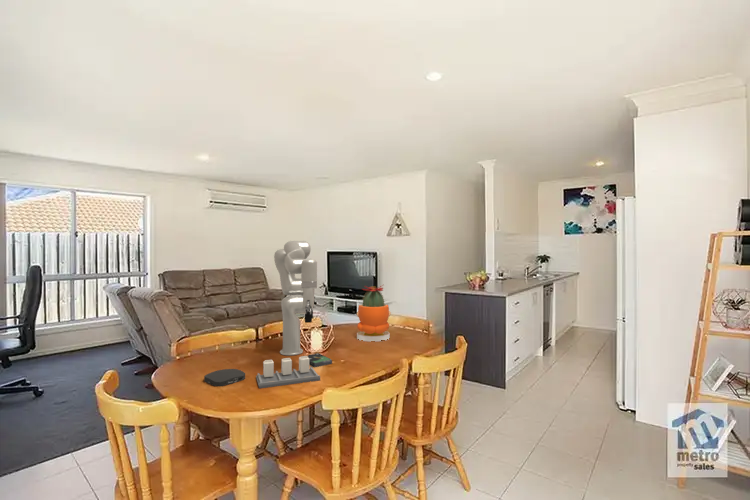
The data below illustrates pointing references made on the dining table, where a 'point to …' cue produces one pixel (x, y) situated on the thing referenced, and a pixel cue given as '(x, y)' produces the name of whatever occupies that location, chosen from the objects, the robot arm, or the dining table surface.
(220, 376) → the media streaming box
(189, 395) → the dining table surface
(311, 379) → the grey divided tray
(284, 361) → the tab
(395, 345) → the dining table surface
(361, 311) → the potted cactus
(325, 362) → the disk drive
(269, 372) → the tab
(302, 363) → the tab
